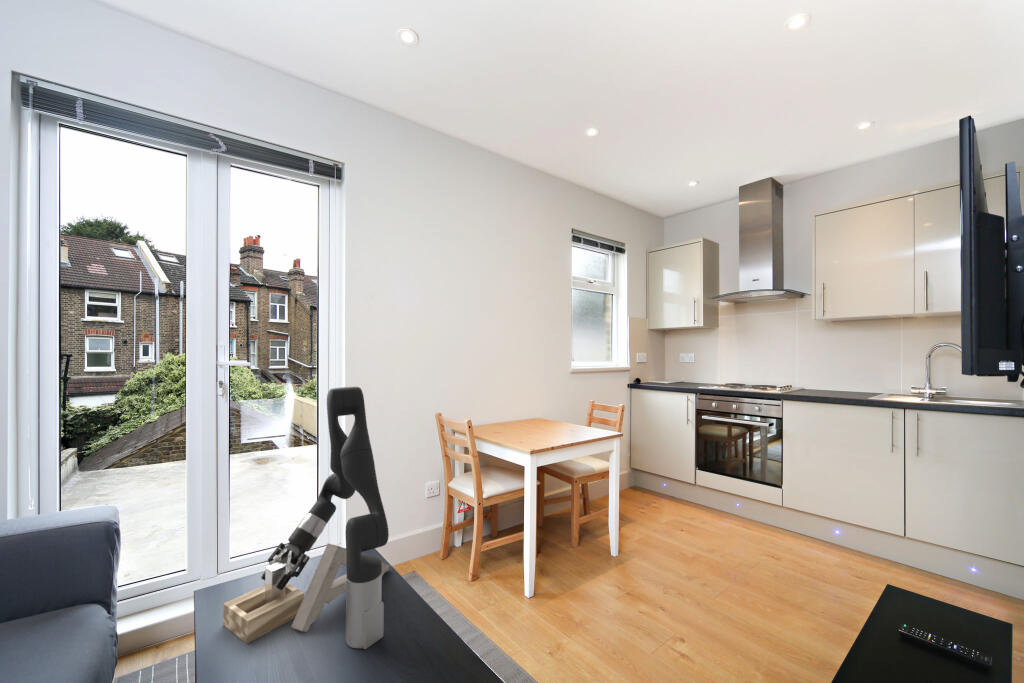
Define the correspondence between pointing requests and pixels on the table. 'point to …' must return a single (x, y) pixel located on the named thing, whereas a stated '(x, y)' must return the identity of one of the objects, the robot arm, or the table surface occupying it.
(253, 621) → the beech well block
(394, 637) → the table surface
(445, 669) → the table surface
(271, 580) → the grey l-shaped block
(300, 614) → the grey letter a
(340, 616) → the table surface
